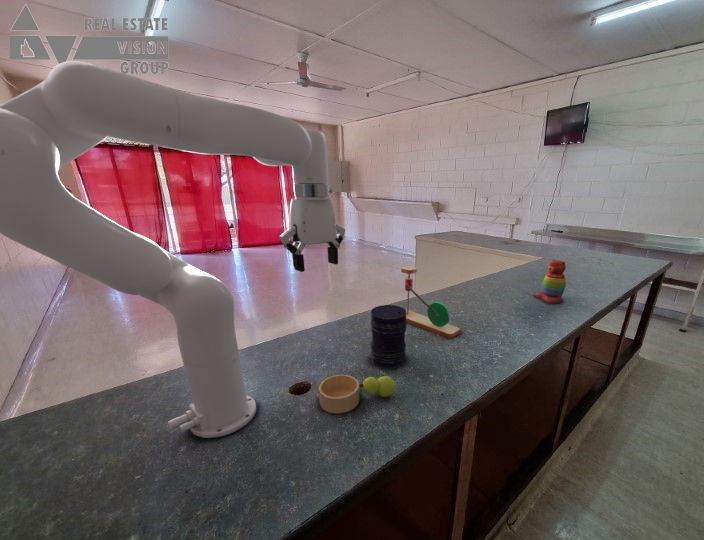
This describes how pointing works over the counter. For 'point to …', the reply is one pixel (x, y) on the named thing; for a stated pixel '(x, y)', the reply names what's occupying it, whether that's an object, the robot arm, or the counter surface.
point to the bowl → (339, 393)
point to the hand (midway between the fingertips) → (317, 266)
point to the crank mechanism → (428, 312)
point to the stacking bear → (553, 283)
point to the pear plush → (379, 386)
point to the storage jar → (388, 336)
